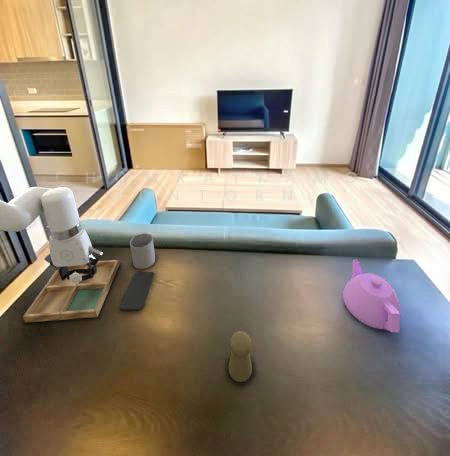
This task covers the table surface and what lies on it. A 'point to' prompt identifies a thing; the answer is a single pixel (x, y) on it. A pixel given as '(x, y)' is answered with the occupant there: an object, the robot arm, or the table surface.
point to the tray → (73, 295)
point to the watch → (77, 275)
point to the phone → (137, 291)
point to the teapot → (372, 300)
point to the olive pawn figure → (240, 357)
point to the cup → (142, 250)
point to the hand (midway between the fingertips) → (79, 275)
